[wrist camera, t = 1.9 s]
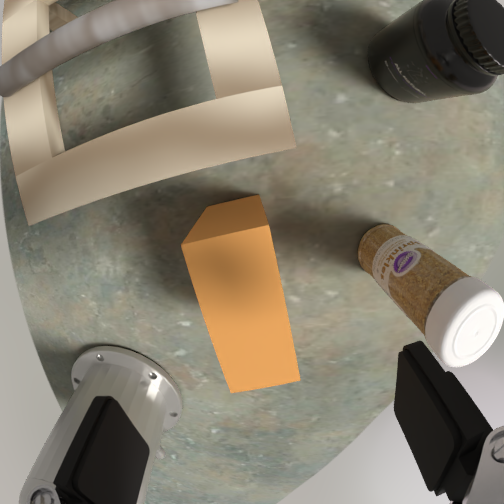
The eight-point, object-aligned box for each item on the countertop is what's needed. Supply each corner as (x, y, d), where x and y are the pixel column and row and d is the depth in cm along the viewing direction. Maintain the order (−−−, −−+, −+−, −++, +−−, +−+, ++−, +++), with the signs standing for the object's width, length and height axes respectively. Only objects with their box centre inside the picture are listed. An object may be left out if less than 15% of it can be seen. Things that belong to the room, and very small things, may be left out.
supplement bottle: (365, 96, 21) (457, 62, 9) (363, 22, 19) (437, -45, 7) (436, 112, 21) (540, 104, 10) (433, 43, 19) (523, 6, 7)
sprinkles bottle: (374, 213, 24) (482, 275, 11) (412, 239, 24) (517, 310, 12) (345, 260, 25) (425, 358, 12) (384, 283, 26) (469, 378, 13)
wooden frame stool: (276, 149, 22) (304, 147, 12) (93, 199, 23) (7, 235, 12) (228, -34, 17) (220, -118, 6) (63, 24, 18) (-11, -16, 7)
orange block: (282, 301, 26) (300, 380, 16) (235, 310, 26) (230, 392, 16) (259, 194, 23) (269, 224, 14) (206, 206, 23) (180, 245, 14)
